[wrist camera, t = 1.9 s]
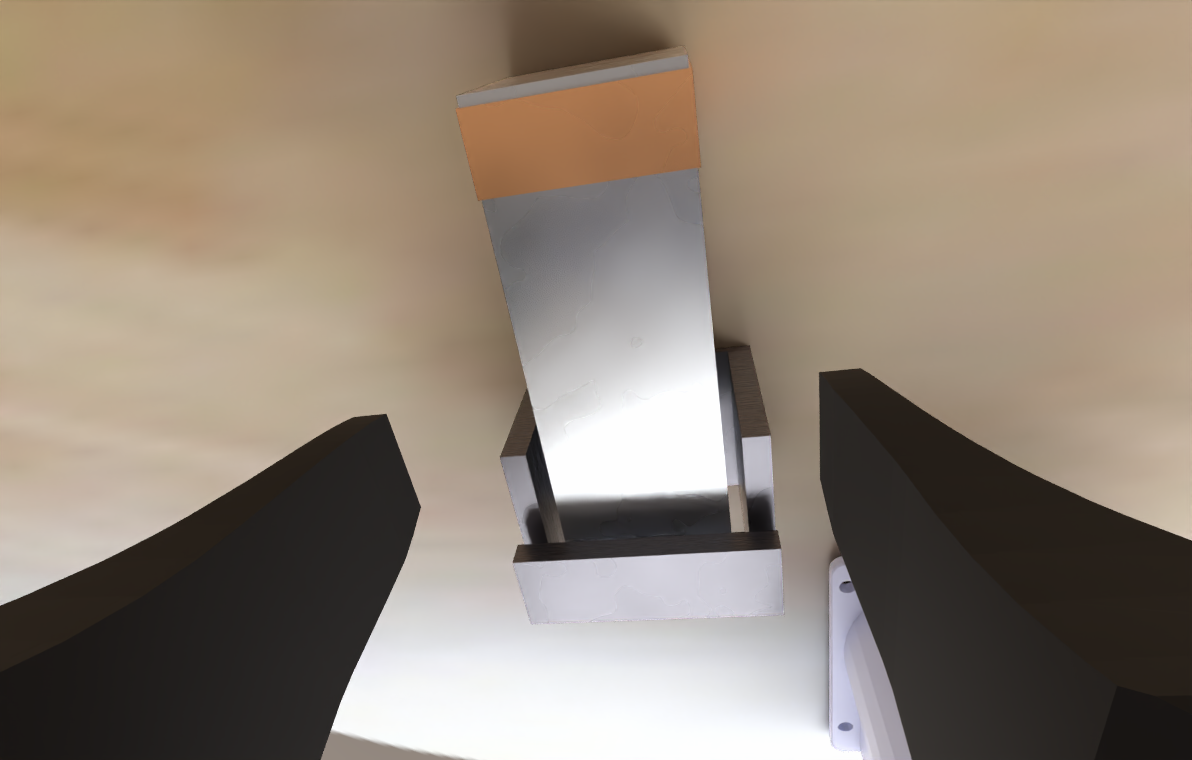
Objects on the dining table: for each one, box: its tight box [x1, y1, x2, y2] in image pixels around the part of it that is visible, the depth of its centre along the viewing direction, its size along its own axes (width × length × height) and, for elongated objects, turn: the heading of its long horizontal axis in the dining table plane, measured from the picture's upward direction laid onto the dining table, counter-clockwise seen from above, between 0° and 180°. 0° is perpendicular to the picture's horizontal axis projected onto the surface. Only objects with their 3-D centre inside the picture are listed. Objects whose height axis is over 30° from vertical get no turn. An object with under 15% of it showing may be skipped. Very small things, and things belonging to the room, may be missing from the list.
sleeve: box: [500, 346, 784, 624], centre depth 17 cm, size 4×6×5 cm
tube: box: [456, 46, 731, 542], centre depth 16 cm, size 12×4×4 cm, turn 10°
